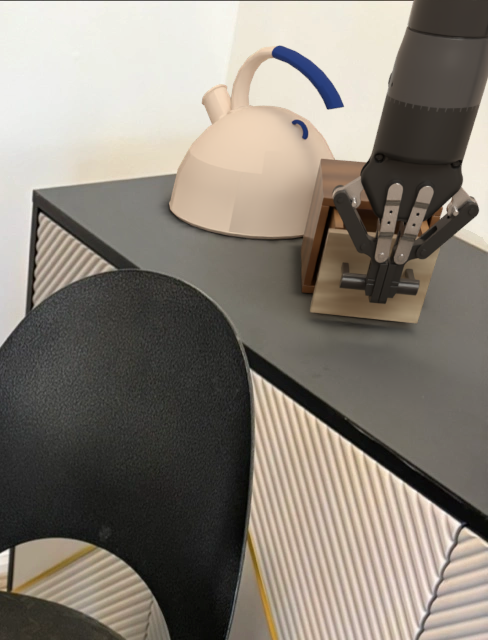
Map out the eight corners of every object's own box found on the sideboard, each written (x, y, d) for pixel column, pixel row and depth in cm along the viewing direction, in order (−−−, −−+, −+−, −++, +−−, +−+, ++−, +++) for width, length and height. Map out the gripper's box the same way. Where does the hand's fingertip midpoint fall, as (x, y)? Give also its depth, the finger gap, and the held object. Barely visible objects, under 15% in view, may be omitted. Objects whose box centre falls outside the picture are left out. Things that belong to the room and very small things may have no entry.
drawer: (421, 343, 107) (447, 259, 101) (310, 331, 108) (330, 248, 103) (407, 276, 120) (429, 200, 115) (308, 266, 122) (326, 191, 117)
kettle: (248, 179, 149) (277, 23, 137) (369, 223, 136) (413, 54, 124) (133, 202, 140) (153, 37, 129) (250, 251, 128) (285, 73, 116)
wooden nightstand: (414, 304, 116) (443, 207, 110) (301, 292, 118) (323, 197, 112) (404, 257, 127) (430, 167, 121) (300, 247, 129) (320, 158, 123)
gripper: (354, 97, 91) (305, 307, 102) (525, 109, 89) (455, 323, 100) (350, 77, 96) (304, 279, 108) (510, 89, 94) (446, 293, 106)
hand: (377, 300), depth 104 cm, fingers closed
